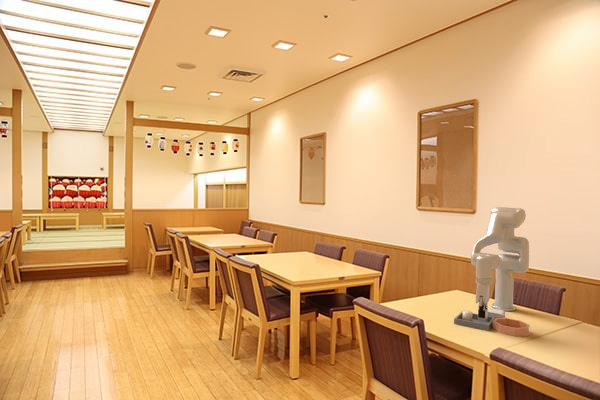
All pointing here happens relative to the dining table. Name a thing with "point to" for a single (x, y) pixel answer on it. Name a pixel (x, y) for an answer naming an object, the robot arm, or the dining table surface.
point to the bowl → (511, 327)
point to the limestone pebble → (485, 316)
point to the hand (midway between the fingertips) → (482, 315)
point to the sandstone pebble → (467, 315)
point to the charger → (496, 313)
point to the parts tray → (474, 322)
